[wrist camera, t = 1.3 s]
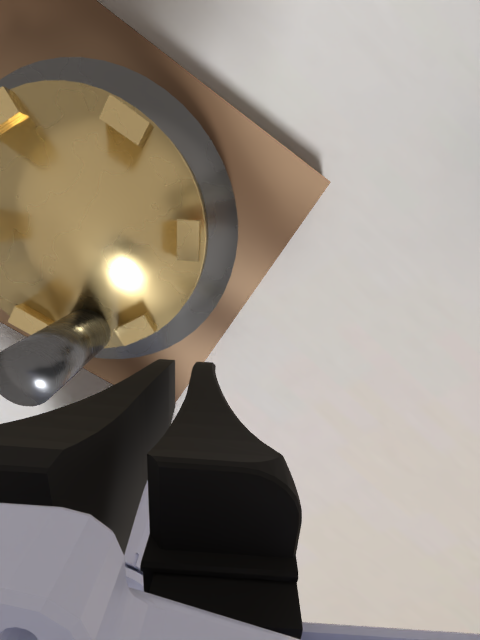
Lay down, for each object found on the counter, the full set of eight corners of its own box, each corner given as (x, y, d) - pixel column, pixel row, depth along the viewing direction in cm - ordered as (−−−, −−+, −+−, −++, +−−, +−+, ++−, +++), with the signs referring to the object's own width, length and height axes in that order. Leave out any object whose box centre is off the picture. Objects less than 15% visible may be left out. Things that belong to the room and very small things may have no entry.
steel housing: (158, 388, 21) (152, 401, 20) (-60, 264, 19) (-85, 268, 17) (291, 190, 17) (295, 187, 15) (33, -3, 14) (10, -28, 13)
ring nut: (140, 373, 19) (89, 452, 12) (-56, 262, 17) (-232, 288, 11) (254, 196, 15) (259, 183, 9) (26, 30, 13) (-163, -128, 7)
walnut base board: (171, 402, 23) (167, 414, 22) (-68, 267, 20) (-92, 271, 19) (324, 184, 18) (330, 182, 17) (36, -37, 15) (14, -63, 14)
